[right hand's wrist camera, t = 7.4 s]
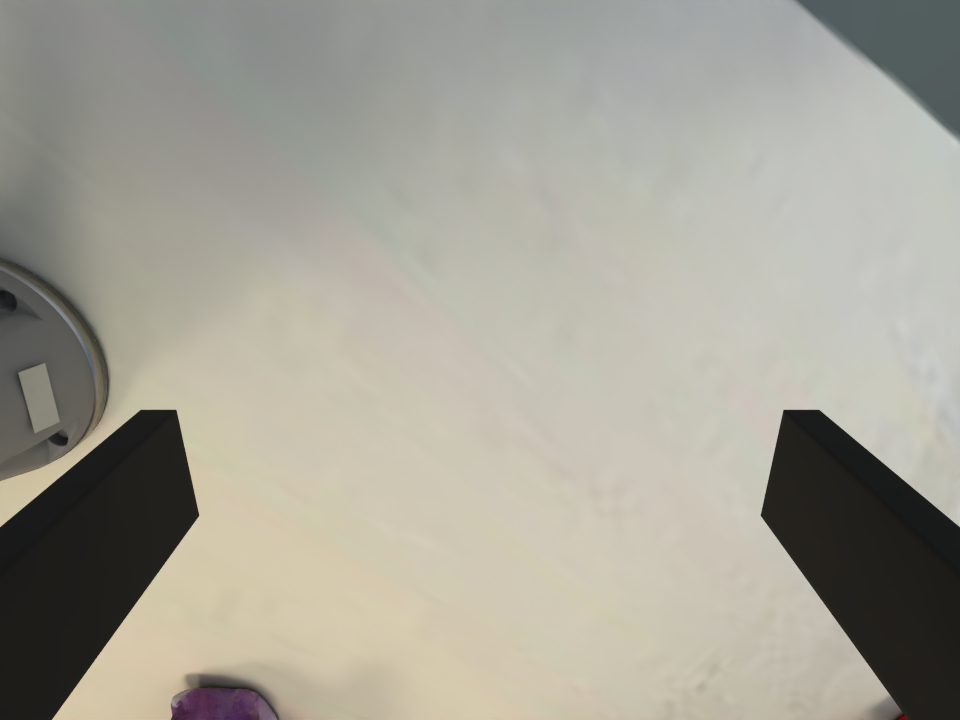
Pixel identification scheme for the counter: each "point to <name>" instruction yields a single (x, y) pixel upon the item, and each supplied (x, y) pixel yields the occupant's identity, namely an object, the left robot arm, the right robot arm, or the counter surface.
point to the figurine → (220, 705)
